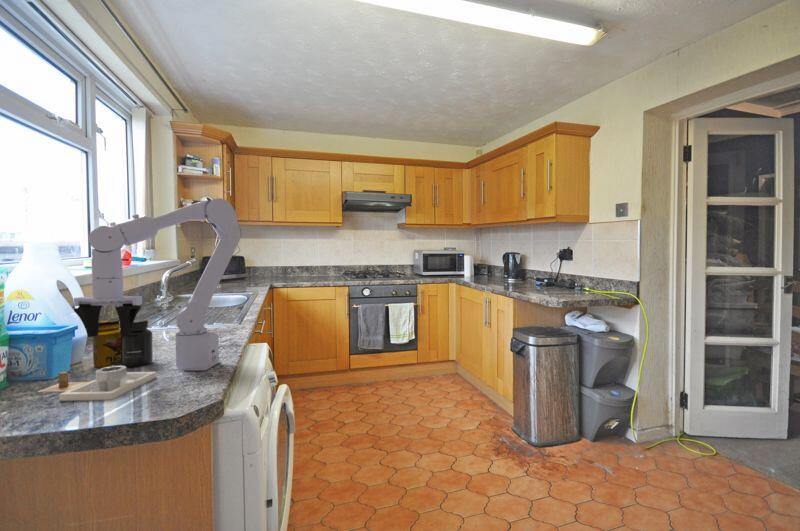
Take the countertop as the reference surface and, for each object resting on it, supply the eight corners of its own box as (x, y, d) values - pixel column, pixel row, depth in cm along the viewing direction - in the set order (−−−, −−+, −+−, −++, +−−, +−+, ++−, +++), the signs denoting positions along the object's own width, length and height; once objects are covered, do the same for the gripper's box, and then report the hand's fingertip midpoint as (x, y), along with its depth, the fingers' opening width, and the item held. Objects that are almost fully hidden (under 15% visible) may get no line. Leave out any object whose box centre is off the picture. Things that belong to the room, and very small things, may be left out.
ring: (131, 383, 83) (131, 365, 83) (108, 394, 77) (107, 375, 76) (108, 384, 83) (108, 365, 83) (83, 395, 76) (82, 375, 76)
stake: (88, 384, 85) (88, 368, 85) (65, 393, 79) (65, 376, 79) (61, 384, 85) (61, 369, 85) (36, 394, 79) (36, 377, 79)
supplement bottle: (128, 371, 95) (127, 323, 94) (116, 367, 98) (115, 321, 98) (158, 364, 100) (157, 319, 100) (145, 361, 104) (144, 317, 104)
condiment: (123, 367, 99) (122, 321, 99) (81, 372, 94) (79, 324, 94) (124, 360, 105) (123, 317, 105) (85, 366, 100) (83, 320, 100)
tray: (156, 379, 88) (156, 371, 88) (111, 402, 74) (111, 393, 74) (112, 380, 88) (112, 372, 88) (59, 403, 74) (59, 394, 74)
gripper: (61, 279, 85) (63, 340, 86) (127, 279, 86) (128, 339, 86) (86, 278, 92) (88, 333, 93) (147, 277, 93) (148, 332, 93)
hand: (109, 336), depth 90 cm, fingers open, 7 cm apart
